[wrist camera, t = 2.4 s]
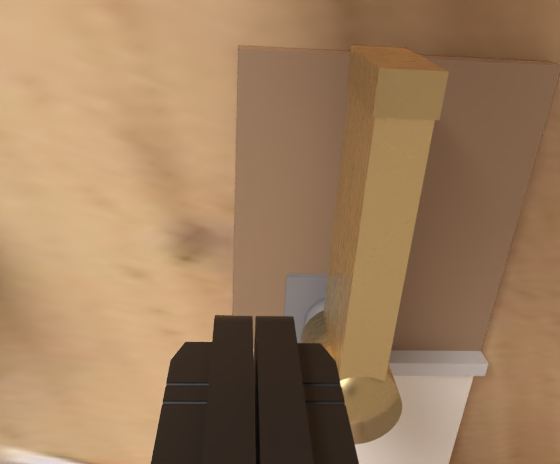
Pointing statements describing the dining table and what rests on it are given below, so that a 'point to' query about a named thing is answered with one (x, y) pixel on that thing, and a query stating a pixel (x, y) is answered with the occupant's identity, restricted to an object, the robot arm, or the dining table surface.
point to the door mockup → (428, 227)
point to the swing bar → (376, 225)
